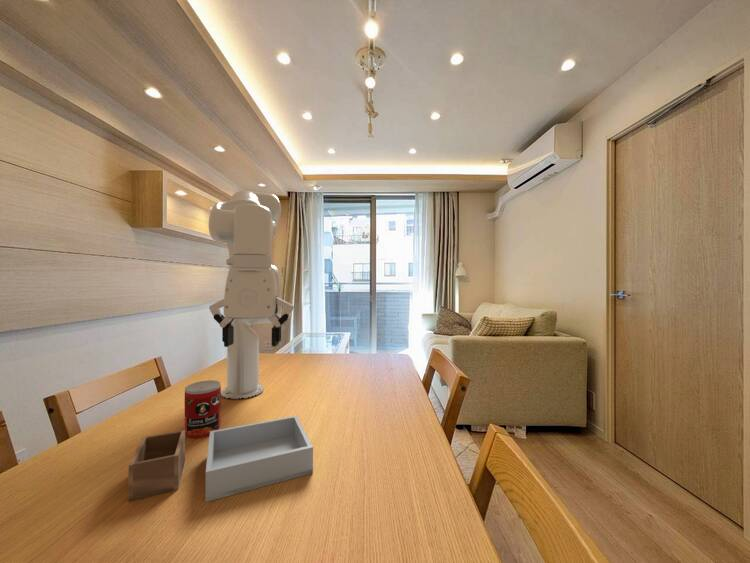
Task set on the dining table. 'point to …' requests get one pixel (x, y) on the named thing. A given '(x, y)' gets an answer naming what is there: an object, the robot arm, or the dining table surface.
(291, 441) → the large crate
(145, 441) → the small crate
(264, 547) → the dining table surface
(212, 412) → the canned food
